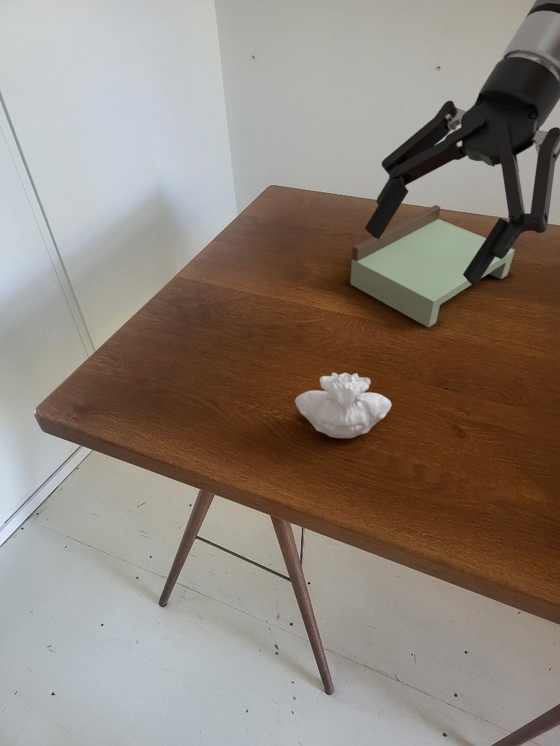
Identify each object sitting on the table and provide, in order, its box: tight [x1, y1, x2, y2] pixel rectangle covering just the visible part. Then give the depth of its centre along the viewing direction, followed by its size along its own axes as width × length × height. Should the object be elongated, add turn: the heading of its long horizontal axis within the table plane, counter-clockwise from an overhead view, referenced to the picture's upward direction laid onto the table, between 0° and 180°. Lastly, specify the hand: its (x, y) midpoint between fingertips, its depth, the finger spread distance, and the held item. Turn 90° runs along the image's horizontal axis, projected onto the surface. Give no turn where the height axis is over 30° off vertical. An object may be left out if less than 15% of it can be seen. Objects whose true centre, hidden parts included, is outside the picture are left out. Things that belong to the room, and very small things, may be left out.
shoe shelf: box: [350, 204, 516, 328], centre depth 89 cm, size 17×22×7 cm
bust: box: [294, 372, 392, 439], centre depth 64 cm, size 12×8×11 cm
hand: (417, 256), depth 58 cm, fingers open, 13 cm apart
